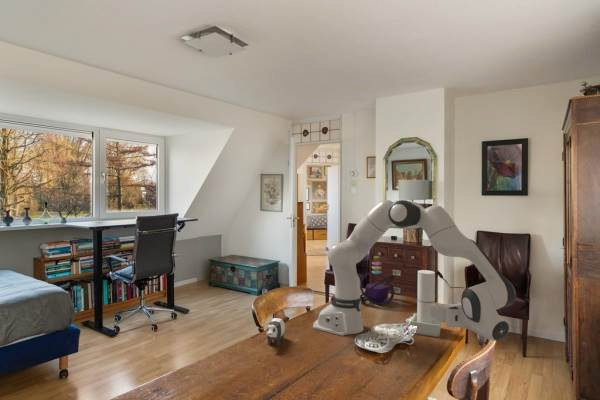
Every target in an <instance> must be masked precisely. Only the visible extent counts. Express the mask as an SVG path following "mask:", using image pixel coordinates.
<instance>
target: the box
mask: <svg viewBox="0 0 600 400" xmlns="http://www.w3.org/2000/svg"><path fill="white" fill-rule="evenodd" d="M409 324H410V325H414V326H417V330H416V335H421V336H428V337H435V338H440V335H441V329H442V322H441V321H439V320H437V319H435V318H434V324H429V323H422V322H417V312H416V313H415V312H414V313H413V314H412V317H411V319H410V323H409ZM410 325H409V326H410Z"/></svg>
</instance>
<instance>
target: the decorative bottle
mask: <svg viewBox="0 0 600 400" xmlns="http://www.w3.org/2000/svg"><path fill="white" fill-rule="evenodd" d="M380 259H381V256H378V255H376V256H374V255H373V261H372V262H371V264H372V265H373V266H371V268H372V271H371V272H367V273H365V274H363V276H362V277H361V279H360V293H361V294H360V297H361V300H363V299H366V300H367V301H369V302H370V303H372V304H374V305H377V306H386V305H389V304H390V303H391V302H392V301H393V300H394V295H395V290H394V289H395V288H394V286H393V285H392V283H391V282H392V281H393V280H394V279H395V278H396V275H391V276H388V277H386V276H385V275H383V274H382V271H381V270H382V266H381V265H382V264H383V263H382V262H380ZM373 275H374V276H378V277H381V278H383V280H381V281H379V282H378V283H371V282H370V283H367V284H366V286H365V289H363V282H364V280H365V278H366V277H368V276H373ZM382 283H383V284H382ZM388 285H389V286H388ZM389 288H390V289H389ZM389 291H391V293H390V297H389ZM387 299H388V300H387Z"/></svg>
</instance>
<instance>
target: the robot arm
mask: <svg viewBox="0 0 600 400" xmlns="http://www.w3.org/2000/svg"><path fill="white" fill-rule="evenodd" d="M393 225H394V226H396V227H398V228H401V229H404V230H405V229H406V230H420V229H422V230H423V231H424V232H425V234H426V236H427V238H428V240H429V242H430V244H431V246H432V247H433V249H434V250H435V251H436V252H437V253H438V254H440V255H442V256H446V257H453V258H455V257H456V258H462V259H465V260H468V261H470V263H472V264H473V265H474V266H475V268H476V269H477V270H478V272H479V273H480V274H481V275H482V277H483V279H485V281H484V282H481V283H479V284H475V285H473V286H470V287H466V288H464V289H463V291H462V293H461V298H460V302H457V301H452V303H451V304H450V303H449V304H437V303H435V304H432V306H431V310H430V313H431V316H432V317H434V318H435V319H437V320H439V321H441V323H445V326H447V327H452V328H453V327H454V328H455V327H456V328H461V329H467V330H468V331H471V332H474V333H475V334H476V335H478V336H480V337H482V338H484V339H487V340H490V341H493V342H497V341H499V342H500V341H501V340H503V339H504V338H505V337H506V336H507V335H508V334H509V330H510V324H509V322H508V321H507V320H506V319H504V318H502V317H501V316H500V314H499V313H498V311H497V310H499V309H502V308H506V307H509V306H513V305H514V303H515V301H516V298H517V297H516V296H517V292H516V288H515V286H514V285H513V283H512V282H511V281H510V280H509V279H508V278H506V277H505V276H504V275H503V274H502V273H501V271H500V270H499V269H498V268H497V266H496V265H495V264H494V262H493V261H492V260H491V259H490V258H489V256H488V255H487V254H486V252H485V251H484V250H483V249H482V248H481V246H479V244H478V243H477V242H475V240H474V239H471V238H468V237H467V236H466V235H464V234H463V233H462V232H461V231H460V229H459V228H458V226H457V224H456V223H455V221H454V220H453V219H452V217H451V215H450V214H449V213H448V212H447V211H446V209H445V208H444V207H442V206H440V205H431V206H430V205H429V206H428V207H426V206H424V205H422V204H420V203H418V202H415V201H412V200H411V201H409V200H406V199H405V200H404V199H401V200H395V201H394V202H393V201H391V200H390V199H383V200H380V201H379V202H378V203H376V204H375V205H374V206H373V207H372V208H371V209H370V210H368V212H367V213H366V214H365V215H364V216H363V217H362V218H361V219H360V220H359V221H358V223H356V225H355V226H354V228H353V231H352V232H351V234H350V235H349V236H348V238H347V239H345V240H344V241H341V242H337V243H335V244H334V245H332V247H331V248H329V251H328V252H327V261H328V263H329V264H330V266H331V268H332V271H333V275H334V294H332V296H331V298H330V299H329V302H330V304H328V305H327V306H325V307H324V308H323V309H322V310H321V311H320V312H319V315H318V318H317V319H316V320H315V321H314V322H313V323H312V324H313V325H312V327H313V329H314V330H318V331H323V332H326V333H329V334H334V335H337V336H342V337H343V336H347V335H353V334H359V333H361V332H363V331H364V324H363V320H362V319H363V318H362V314H361V311H362V299H361V297H360V295H361V289H360V280H361V279H360V277H359V275H358V272H357V264H359V263H360V262H361V261H362V260H363V259H364V258H365V257H366V255H368V253H369V251H370V250H371V249H372V248H373V246H374V245H375V244H376V243H377V242H378V241H379V240H380V239H381V237H383V236H384V235H385V233H386V232H387V231H388V230H389V229H390V228H391V227H392V226H393Z"/></svg>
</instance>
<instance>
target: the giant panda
mask: <svg viewBox="0 0 600 400" xmlns="http://www.w3.org/2000/svg"><path fill="white" fill-rule="evenodd" d="M285 325H286V324H285V322H284V320H283V318H279V317H275V318H272V319H271V321H270V322H269V323H268V326H267V328H266V335H267V346H271V345H272V344H273V340H275V346H277V347H279V346H281V340H282V341H283V340H284V336H285V335H284V334H285V331H286V326H285Z"/></svg>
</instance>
